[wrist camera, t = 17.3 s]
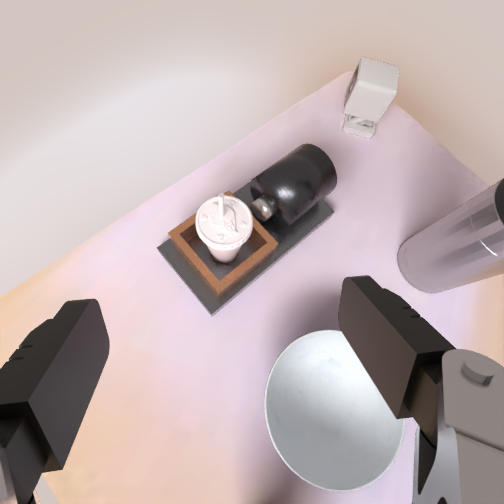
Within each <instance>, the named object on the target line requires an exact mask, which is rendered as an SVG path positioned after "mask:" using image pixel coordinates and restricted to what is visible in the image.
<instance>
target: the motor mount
mask: <svg viewBox="0 0 504 504" xmlns="http://www.w3.org/2000/svg"><path fill="white" fill-rule="evenodd" d="M336 184H337V174H336V170H335V167H334V165H333V163H332V161H331V160H330V158H329V157H328V156H327V154H326V153H325V152H324V151H322V150H321V149H320V148H318V147H317V146H315V145H312V144H303V145H301V146H299V147H298V148H296V149H295V150H293V151H292V152H291V153H289V154H288V155H286V156H285V157H283V158H282V159H281V160H279V161H278V162H276V163H275V164H273V165H272V166H271V167H269V168H268V169H266V170H265V171H263V172H262V173H261V174H259V175H258V176H256V177H255V178H253V179H252V180H251V182H250V183H248V184H247V185H245V186H244V187H242V188H241V189H240V190H238V191H237V192H235V193H234V194H232V193H231V192H230V191H228V192H226V193H225V194H224V195H227V196H233V197H236V198H238V199H240V200H241V201H243V202H244V203H245V204H246V205H247V206H248V208H249V209H250V211H251V213H252V217H253V229H252V232H251V235H250V237H249V238H248V239H247V241H246V242H245V243H243V244H242V246H241V248H240V250H239V252H238V254H237V255H236V257H235V258H234V259H233V260H232V261H230V262H227V263H221V262H218V261H217V260H215V259H214V257H213V256H212V254H211V252H210V250H209V248H208V246H207V244H205V243H204V242H203V241H202V240H201V238H200V237H199V235H198V233H197V230H196V214H197V213H196V214H194V215H193V216H192V217H190V218H189V219H187V220H186V221H184V222H183V223H181V224H180V225H179V226H177V227H176V228H174V229H173V230H171V231H170V232H169V233H168V234H169V236H170V239H168V240H167V241H166V242H164V243H163V244H161V245H160V246H158V247H157V249H158V251H159V252H160V254H161V255H162V256H163V257H164V258H165V260H166V261H167V262H168V263H169V265H170V266H171V267H172V268H173V269H174V271H175V272H176V273H177V274H178V276H179V277H180V278H181V279H182V281H183V282H184V283H185V284H186V285H187V287H188V288H189V289H190V290H191V292H192V293H193V294H194V295H195V296H196V298H197V299H198V300H199V301H200V303H201V304H202V305H203V306H204V307H205V309H206V310H207V311H208V312H209V314H210V315H211V316H213V315H215V314H216V313H217V312H218V311H219V310H221V309H222V308H223V307H224V306H225V305H227V304H228V303H229V302H230V301H231V300H232V299H234V298H235V297H236V296H237V295H238V294H240V293H241V292H242V291H243V290H244V289H246V288H247V287H248V286H249V285H250V284H252V283H253V282H254V281H255V280H256V279H257V278H259V277H260V276H261V275H262V274H263V273H265V272H266V271H267V270H268V269H269V268H271V267H272V266H273V265H274V264H275V263H277V262H278V261H279V260H280V259H281V258H282V257H284V256H285V255H286V254H287V253H288V252H290V251H291V250H292V249H293V248H294V247H296V246H297V245H298V244H299V243H300V242H302V241H303V240H304V239H305V238H306V237H307V236H309V235H310V234H311V233H312V232H313V231H315V230H316V229H317V228H318V227H319V226H321V225H322V224H323V223H324V222H325V221H327V220H328V219H329V218H330V217H331V216H332V214H333V213H334V211H333V210H332V209H331V208H330V207H329V206H328V205H327V204H326V203H325V202H324V201H323V200H322V199H323V198H324V197H326V196H327V195H328V194H329V193H331V192H332V191H333V190H334V189H335V187H336Z"/></svg>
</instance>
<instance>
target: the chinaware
mask: <svg viewBox="0 0 504 504" xmlns="http://www.w3.org/2000/svg"><path fill="white" fill-rule="evenodd" d="M264 410H265V419H266V424H267V428H268V431H269V434H270V437H271V440H272V442H273V444H274V446H275V448H276V450H277V452H278V454H279V455H280V457H281V458H282V460H283V461H284V462H285V463H286V465H287V466H288V467H289V468H290V469H291V470H292V471H293V472H294V473H295V474H296V475H298V476H299V477H300V478H301V479H303V480H304V481H306V482H308V483H309V484H311V485H313V486H315V487H318V488H321V489H324V490H328V491H334V492H349V491H354V490H358V489H361V488H364V487H366V486H368V485H370V484H372V483H373V482H375V481H376V480H378V479H379V478H380V477H381V476H382V475H383V474H384V473H385V472H386V471H387V470H388V469H389V468H390V466H391V465H392V463H393V462H394V460H395V458H396V456H397V454H398V452H399V450H400V447H401V444H402V441H403V437H404V431H405V418H403V419H396V418H395V416H394V415H393V413H392V411H391V410H390V408H389V407H388V405H387V403H386V402H385V400H384V399H383V397H382V395H381V394H380V392H379V391H378V389H377V387H376V386H375V384H374V383H373V381H372V380H371V378H370V376H369V375H368V373H367V372H366V370H365V368H364V367H363V365H362V364H361V362H360V360H359V359H358V357H357V356H356V354H355V352H354V351H353V349H352V348H351V346H350V344H349V343H348V341H347V340H346V338H345V336H344V335H343V333H342V331H338V330H319V331H314V332H311V333H308V334H305V335H303V336H301V337H299V338H298V339H296V340H294V341H293V342H292V343H291V344H289V345H288V346H287V347H286V348H285V349H284V350H283V351H282V352H281V354H280V355H279V356H278V358H277V359H276V361H275V363H274V365H273V367H272V369H271V371H270V373H269V376H268V380H267V383H266V389H265V397H264Z"/></svg>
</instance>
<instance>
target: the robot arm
mask: <svg viewBox="0 0 504 504" xmlns="http://www.w3.org/2000/svg"><path fill="white" fill-rule="evenodd" d="M398 264H399V268H400V270H401V272H402V274H403V276H404V277H405V279H406V280H407V281H408V282H409V283H410V284H411V285H413V286H414V287H415V288H417V289H419V290H421V291H424V292H428V293H438V292H442V291H445V290H449V289H452V288H455V287H459V286H463V285H466V284H469V283H473V282H476V281H479V280H483V279H486V278H489V277H493V276H496V275H499V274H503V273H504V178H503V179H502V180H500V181H499V182H497V183H496V184H494V185H492V186H491V187H489V188H488V189H486V190H485V191H483V192H481V193H480V194H479V195H477V196H475V197H474V198H472V199H471V200H469V201H468V202H466V203H464V204H463V205H461V206H460V207H458V208H457V209H455V210H453V211H452V212H450V213H449V214H447V215H446V216H444V217H442V218H441V219H439V220H438V221H436V222H435V223H433V224H431V225H430V226H428V227H427V228H425V229H423V230H422V231H420V232H419V233H417V234H416V235H414V236H413V237H411V238H409V239H408V240H406V241H405V242H404V243H403V244H402V245H401V247H400V249H399V252H398ZM338 321H339V326H340V329H341V331H342V333H343V335H344V336H345V338H346V340H347V341H348V343H349V344H350V346H351V348H352V349H353V351H354V352H355V354H356V356H357V357H358V359H359V360H360V362H361V364H362V365H363V367H364V368H365V370H366V372H367V373H368V375H369V376H370V378H371V380H372V381H373V383H374V384H375V386H376V387H377V389H378V391H379V392H380V394H381V395H382V397H383V399H384V400H385V402H386V403H387V405H388V407H389V408H390V410H391V411H392V413H393V415H394V416H395V418H396V419H403V418H410V417H413V418H414V419H415V421H416V422H417V424H418V426H417V429H416V433H415V454H414V476H413V497H412V504H504V367H503V366H501V365H500V364H498V363H497V362H495V361H494V360H492V359H490V358H488V357H486V356H484V355H482V354H479V353H476V352H473V351H469V350H463V349H456V348H455V347H454V346H453V345H452V344H451V343H450V342H448V341H447V340H446V339H445V338H444V337H443V336H442V335H441V334H440V333H439V332H438V331H437V330H436V329H435V328H433V327H432V326H431V325H430V324H429V323H428V322H427V321H426V320H425V319H424V318H423V317H420V315H419V314H418V313H417V312H416V311H415V310H414V309H411V306H410V305H409V304H408V303H407V302H406V301H404V300H403V299H402V298H401V297H400V296H398V295H397V294H395V293H393V292H391V291H389V290H387V289H385V288H384V289H382V288H381V287H380V286H379V285H378V284H377V283H376V282H375V281H374V280H373V279H372V278H371V277H370V276H367V275H366V276H355V277H346V278H345V279H344V281H343V285H342V292H341V299H340V306H339V313H338ZM109 347H110V345H109V337H108V333H107V330H106V326H105V323H104V319H103V316H102V312H101V309H100V306H99V303H98V301H97V300H96V299H84V300H72V301H67V302H65V304H64V305H63V306H62V307H61V309H60V310H59V311H58V313H57V314H56V315H55V317H54V318H53V319H48V320H46V321H45V322H43V323H42V324H41V325H39V326H38V327H37V328H35V329H34V330H33V331H31V332H30V333H29V334H28V336H27V337H26V338H25V339H24V341H23V342H22V343H21V344H20V346H19V349H16V351H15V352H14V353H13V354H12V355H11V357H10V358H9V361H8V362H6V363H5V364H4V365H3V367H2V368H1V369H0V504H40V501H39V497H38V494H37V492H36V490H35V487H36V485H37V483H38V480H39V478H40V476H41V474H42V473H44V472H50V471H57V470H63V467H64V465H65V462H66V460H67V457H68V455H69V452H70V450H71V447H72V445H73V442H74V440H75V437H76V435H77V433H78V430H79V428H80V425H81V423H82V420H83V418H84V415H85V413H86V410H87V408H88V405H89V403H90V400H91V398H92V395H93V393H94V390H95V388H96V386H97V383H98V381H99V378H100V376H101V373H102V371H103V368H104V366H105V363H106V361H107V358H108V355H109Z"/></svg>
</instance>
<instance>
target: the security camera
mask: <svg viewBox="0 0 504 504" xmlns="http://www.w3.org/2000/svg"><path fill="white" fill-rule="evenodd" d="M398 78H399V66H395V65H392V64H388V63H384V62H380V61H376V60H373V59H369V58H365V57H361V59H360V61H359V64H358V66H357V68H356V70H355V72H354V74H353V77H352V79H351V81H350V83H349V85H348V88H347V91H346V96H345V101H344V107H343V113H344V114H345V119H344V125H343V132H347V133H350V134H354V135H358V136H362V137H365V138H369V139H371V138H372V136H373V135H374V133H375V127H376V124H375V122H378V121H379V120H380V118H381V117H382V115H383V114H384V112H385V111H386V109H387V108H388V106H389V105H390V103H391V102H392V100H393V98H394V97H395V95H396V93H397V89H398ZM364 124H366V125H367V126H364ZM368 126H370V127H368Z"/></svg>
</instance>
